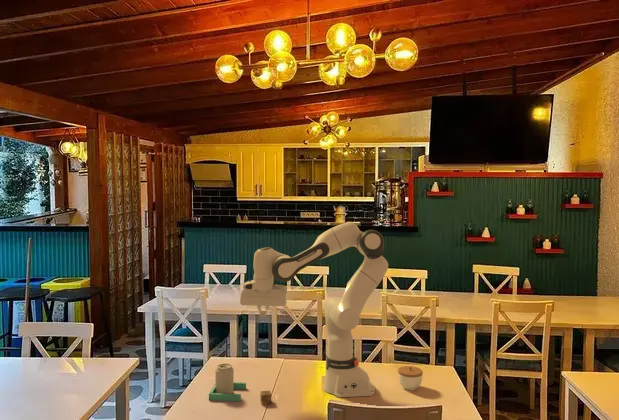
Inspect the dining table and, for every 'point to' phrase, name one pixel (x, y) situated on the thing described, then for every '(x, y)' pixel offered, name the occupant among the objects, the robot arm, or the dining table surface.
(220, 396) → the corral
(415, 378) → the lidded jar
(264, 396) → the walnut block
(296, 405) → the dining table surface
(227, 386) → the can
